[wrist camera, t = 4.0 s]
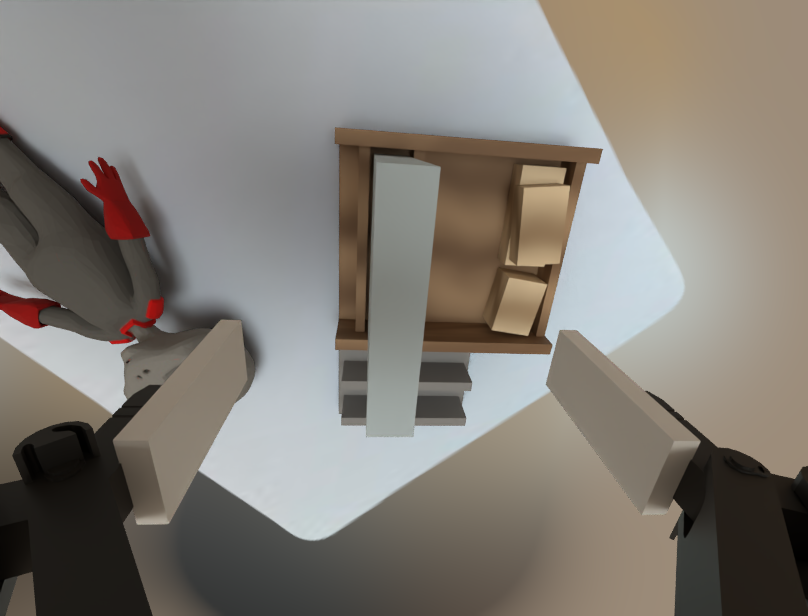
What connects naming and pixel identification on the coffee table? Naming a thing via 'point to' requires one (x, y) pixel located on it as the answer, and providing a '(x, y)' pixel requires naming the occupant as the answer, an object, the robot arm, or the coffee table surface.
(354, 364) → the stand
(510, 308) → the offcut
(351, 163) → the rack
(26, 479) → the robot arm
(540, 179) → the offcut
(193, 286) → the coffee table surface
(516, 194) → the offcut
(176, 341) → the toy
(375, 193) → the grey flat slab
